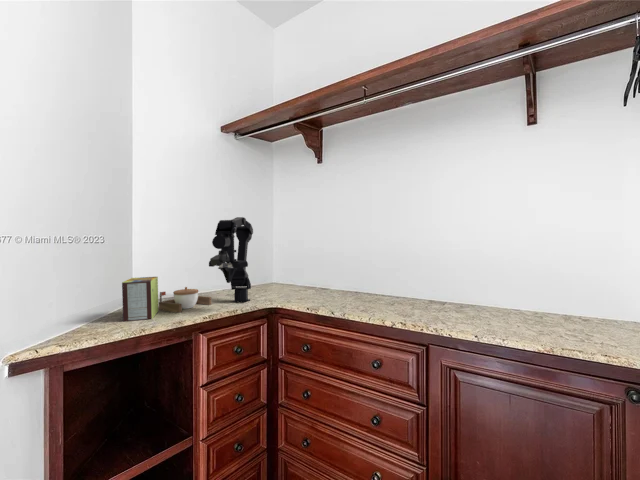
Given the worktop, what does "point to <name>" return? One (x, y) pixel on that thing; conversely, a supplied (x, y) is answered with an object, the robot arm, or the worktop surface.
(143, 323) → the worktop surface
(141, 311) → the protein box
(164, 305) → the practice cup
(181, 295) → the lidded jar
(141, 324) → the worktop surface
